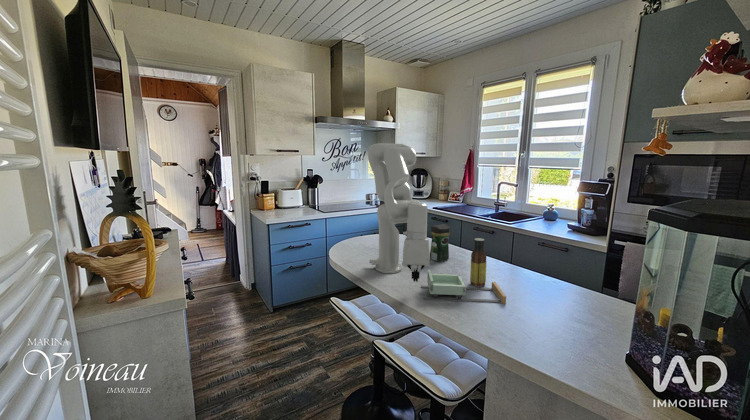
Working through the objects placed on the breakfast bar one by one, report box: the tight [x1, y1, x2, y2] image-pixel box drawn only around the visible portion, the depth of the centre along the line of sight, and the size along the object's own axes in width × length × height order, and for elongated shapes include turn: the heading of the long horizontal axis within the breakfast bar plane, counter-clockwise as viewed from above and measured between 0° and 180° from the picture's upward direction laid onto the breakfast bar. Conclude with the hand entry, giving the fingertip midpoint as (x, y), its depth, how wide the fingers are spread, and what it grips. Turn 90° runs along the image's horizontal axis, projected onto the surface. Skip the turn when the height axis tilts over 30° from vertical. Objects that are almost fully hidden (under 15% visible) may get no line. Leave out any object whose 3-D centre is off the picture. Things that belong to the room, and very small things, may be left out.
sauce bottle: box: [469, 237, 487, 288], centre depth 126 cm, size 7×6×20 cm
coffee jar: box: [430, 223, 451, 263], centre depth 156 cm, size 10×8×19 cm
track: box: [420, 281, 507, 305], centre depth 118 cm, size 30×13×3 cm, turn 86°
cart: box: [426, 269, 467, 299], centre depth 118 cm, size 13×11×7 cm
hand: (415, 280), depth 118 cm, fingers closed
